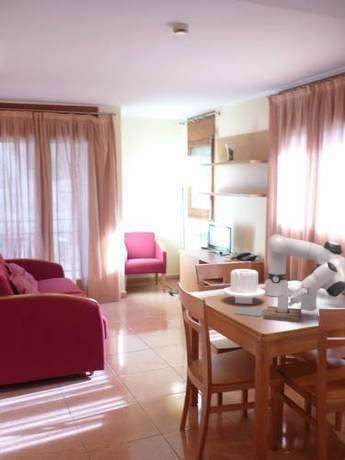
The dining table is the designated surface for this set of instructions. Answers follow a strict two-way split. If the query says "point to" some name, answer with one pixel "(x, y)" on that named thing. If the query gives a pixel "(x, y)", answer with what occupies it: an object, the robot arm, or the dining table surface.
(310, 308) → the skincare box
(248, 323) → the dining table surface
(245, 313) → the slate mat
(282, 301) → the steel plug
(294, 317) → the walnut socket block
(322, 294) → the dining table surface
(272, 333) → the dining table surface
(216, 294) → the dining table surface
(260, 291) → the ribbed cylinder on disc
